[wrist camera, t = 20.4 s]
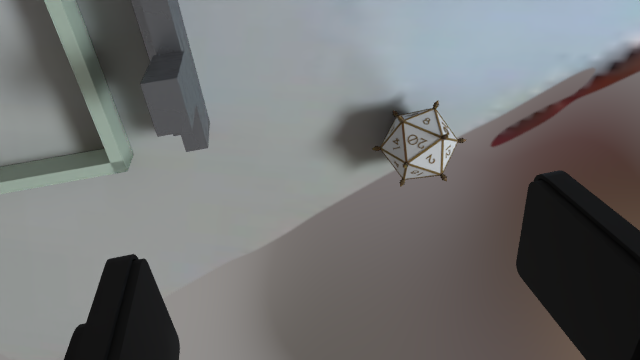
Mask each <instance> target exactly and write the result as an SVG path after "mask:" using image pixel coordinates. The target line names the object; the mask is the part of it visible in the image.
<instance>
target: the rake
mask: <svg viewBox="0 0 640 360" xmlns="http://www.w3.org/2000/svg"><path fill="white" fill-rule="evenodd" d="M131 3H132V6H133V9H134V12H135V15H136V18H137V22H138V25H139V28H140V31H141V34H142V37H143V41H144V44H145V47H146V50H147V53H148V56H149V60H150V64H149V66H148V68H147V70H146V72H145V75H144V77H143V79H142V81H141V83H140V85H141V88H142V91H143V94H144V97H145V100H146V103H147V106H148V109H149V112H150V115H151V118H152V121H153V124H154V127H155V130H156V133H157V136H158V137H159V136H164V135H170V134H173V136H177V135H181V137H182V140H183V143H184V147H185V150H186V152H188V151H194V150H199V149H205V148H208V141H209V125H210V121H209V117H208V114H207V110H206V106H205V102H204V98H203V95H202V91H201V87H200V83H199V79H198V76H197V72H196V68H195V64H194V60H193V57H192V53H191V49H190V45H189V41H188V38H187V34H186V30H185V26H184V22H183V19H182V15H181V11H180V7H179V3H178V0H131Z"/></svg>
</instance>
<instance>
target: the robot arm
mask: <svg viewBox="0 0 640 360" xmlns="http://www.w3.org/2000/svg"><path fill="white" fill-rule="evenodd" d="M516 266H517V271H518V273H519V275H520V277H521V278H522V279H523V281H524V282H525V283H526V284H527V286H528V287H529V288H530V289H531V291H532V292H533V293H534V295H535V296H536V297H537V298H538V300H539V301H540V302H541V303H542V305H543V306H544V307H545V308H546V309H547V311H548V312H549V313H550V315H551V316H552V317H553V318H554V320H555V321H556V322H557V323H558V325H559V326H560V327H561V329H562V330H563V331H564V332H565V334H566V335H567V336H568V337H569V339H570V340H571V341H572V342H573V344H574V345H575V346H576V347H577V349H578V350H579V351H580V352H581V354H582V355H583V356H584V357H585V359H586V360H640V231H639V230H638V229H637V228H635V227H634V226H633V225H632V224H630V223H629V222H628V221H627V220H625V219H624V218H623V217H622V216H620V215H619V214H618V213H616V212H615V211H614V210H613V209H611V208H610V207H609V206H608V205H606V204H605V203H604V202H603V201H601V200H600V199H599V198H597V197H596V196H595V195H594V194H592V193H591V192H589V191H588V190H587V189H586V188H585V187H584V186H582V185H581V184H580V183H578V182H577V181H576V180H575V179H573V178H572V177H571V176H570V175H568V174H567V173H566V172H564V171H554V172H550V173H544V174H540V175H537V176H536V177H535V179H534V182H531V183H530V184H529V187H528V192H527V199H526V205H525V211H524V217H523V223H522V230H521V236H520V242H519V248H518V255H517V261H516ZM179 350H180V345H179V339H178V335H177V333H176V330H175V328H174V326H173V323H172V320H171V318H170V316H169V313H168V311H167V308H166V306H165V303H164V301H163V299H162V296H161V294H160V291H159V289H158V287H157V284H156V282H155V279H154V277H153V274H152V272H151V270H150V267H149V265H148V262H147V261H146V259H138V257H137V256H136V255H134V254H132V255H127V256H122V257H117V258H111V259H108V260H107V262H106V264H105V267H104V270H103V273H102V276H101V279H100V282H99V285H98V288H97V291H96V294H95V297H94V301H93V304H92V307H91V310H90V313H89V316H88V319H87V322H86V323H85V324H81V325H79V326H78V327H77V328H76V329H75V331H74V333H73V335H72V338H71V341H70V344H69V347H68V349H67V352H66V355H65V358H64V360H179V353H180V351H179Z"/></svg>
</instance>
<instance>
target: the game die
mask: <svg viewBox="0 0 640 360" xmlns="http://www.w3.org/2000/svg"><path fill="white" fill-rule="evenodd" d="M438 105H439V103H438V101H437V102H435V103H434V105H433V108H431V109H426V110H422V111H417V112H412V113H407V114H403V115H398V113H397V111H393V115H394V116H395V117H396V119H395V120H394V122H393V124H392V126H391V128H390V130H389V132H388V133H387V135H386V137H385V139H384V141H383V143H382V145H381V146H380V147H378V146H375V147H374V148H373V150H375V151H378V150H381V151H382V152H383V153H384V155H385V156H386V157H387V159H388V160H389V161H390V163H391V164H392V165H393V167H394V168H395V169H396V171H397V172H398V173H399V174H400V176H401V177H402V180H401V181H400V186H402V185H403V184H404V183H405V180H406V179H415V178H423V177H431V176H439V175H440V176H441V178H442V180H444V181H447V177H446V176H445V175H444V174H443V172H444V170H445V168H446V166H447V164H448V162H449V159H450V157H451V155H452V153H453V151H454V149H455V146H456V145H457V143H458V142H459V143H463V142H464V141H466V140H465V139H463V138H460V139H457V138H456V137H455V135H454V134H453V132H452V131H451V130H450V128H449V127H448V125H447V124H446V123H445V121H444V120H443V118H442V117H441V116H440V114H439V113H438V111H437V110H436V108H437V107H438Z"/></svg>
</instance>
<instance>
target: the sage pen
mask: <svg viewBox="0 0 640 360" xmlns="http://www.w3.org/2000/svg"><path fill="white" fill-rule="evenodd" d="M44 1H45V4H46V6H47V9H48V11H49V14H50V16H51V19H52V21H53V23H54V26H55V28H56V31H57V33H58V36H59V38H60V41H61V43H62V45H63V48H64V50H65V53H66V55H67V58H68V60H69V63H70V65H71V68H72V70H73V72H74V75H75V77H76V80H77V82H78V85H79V87H80V90H81V92H82V94H83V97H84V99H85V102H86V104H87V107H88V109H89V112H90V114H91V117H92V119H93V121H94V124H95V126H96V129H97V131H98V134H99V136H100V139H101V141H102V143H103V146H104V148H105V149H100V150H94V151H89V152H83V153H77V154H72V155H66V156H60V157H54V158H49V159H43V160H37V161H32V162H26V163H20V164H14V165H9V166H3V167H0V194H5V193H10V192H16V191H21V190H27V189H32V188H38V187H43V186H49V185H54V184H60V183H65V182H71V181H77V180H82V179H88V178H93V177H99V176H104V175H110V174H115V173H121V172H126V171H128V168H129V166H130V163H131V160H132V157H133V152H132V149H131V147H130V144H129V141H128V139H127V136H126V133H125V131H124V128H123V125H122V123H121V120H120V117H119V115H118V112H117V109H116V107H115V104H114V101H113V98H112V96H111V93H110V90H109V88H108V85H107V82H106V80H105V77H104V74H103V72H102V69H101V66H100V64H99V61H98V58H97V56H96V53H95V50H94V48H93V45H92V42H91V39H90V37H89V34H88V31H87V29H86V26H85V23H84V21H83V18H82V15H81V13H80V10H79V7H78V5H77V2H76V0H44Z"/></svg>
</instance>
